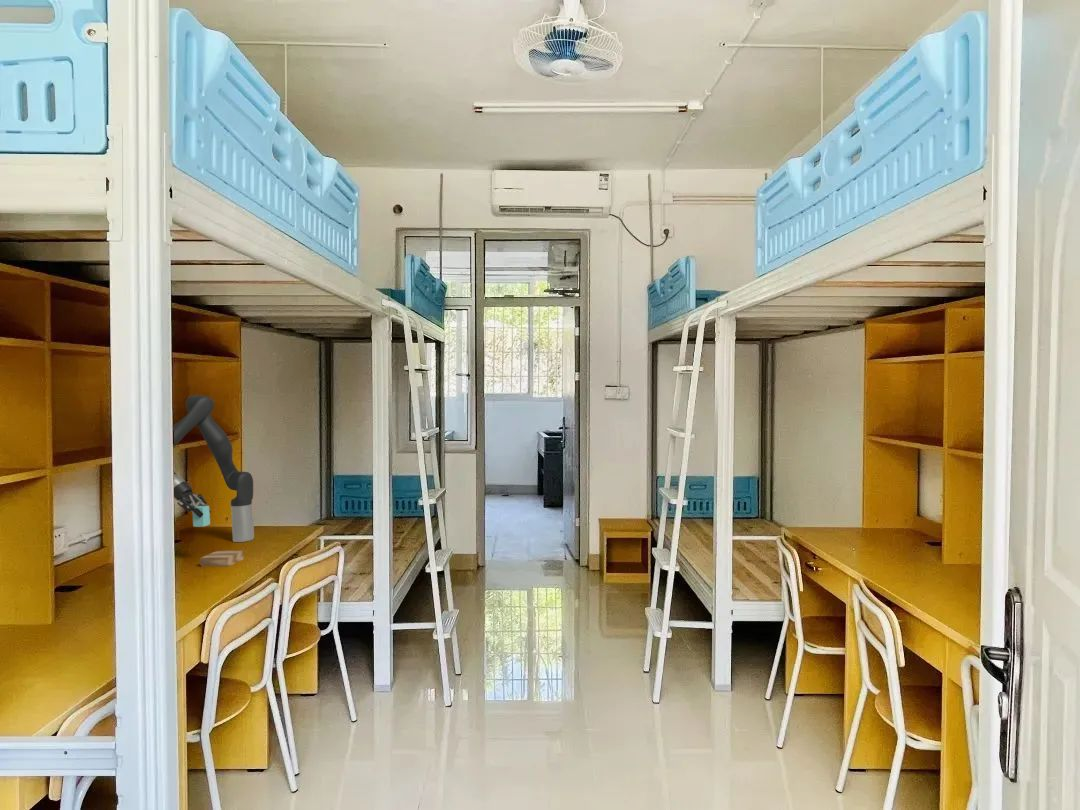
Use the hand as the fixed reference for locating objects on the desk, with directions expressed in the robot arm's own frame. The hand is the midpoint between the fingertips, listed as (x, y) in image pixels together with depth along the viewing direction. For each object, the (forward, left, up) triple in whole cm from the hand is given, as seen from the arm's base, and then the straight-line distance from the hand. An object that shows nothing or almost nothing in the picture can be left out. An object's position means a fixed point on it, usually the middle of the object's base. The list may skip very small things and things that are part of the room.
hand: (205, 514), depth 284 cm
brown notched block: (+4, +9, -20) cm, 22 cm away
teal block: (0, -2, -5) cm, 5 cm away
